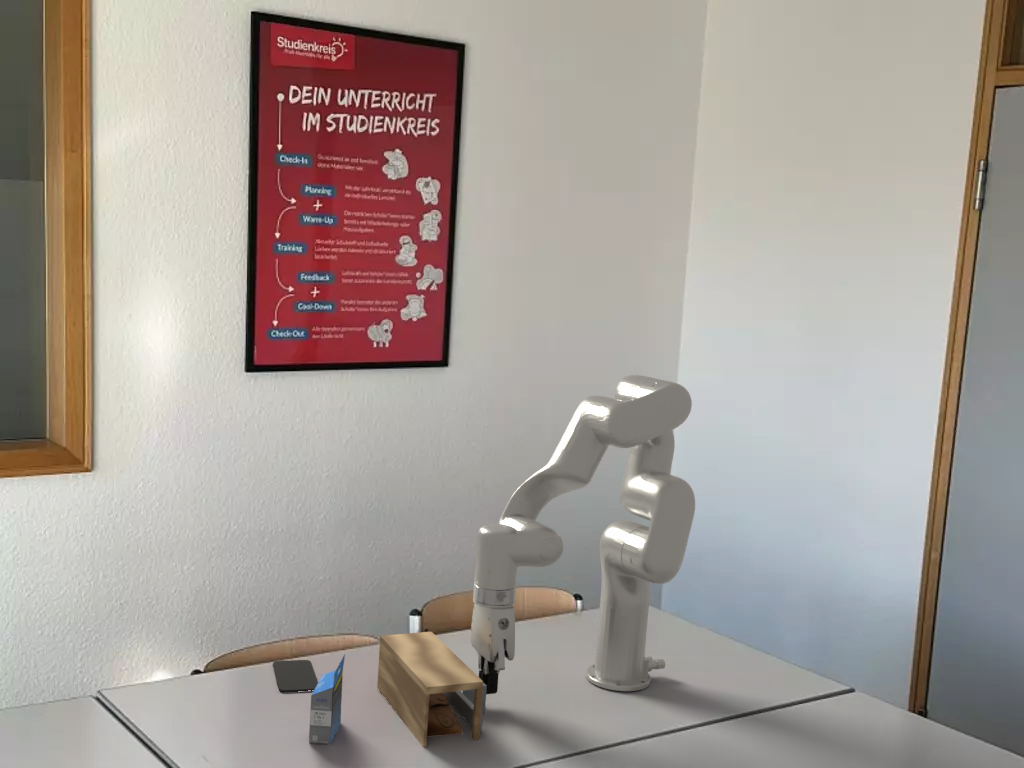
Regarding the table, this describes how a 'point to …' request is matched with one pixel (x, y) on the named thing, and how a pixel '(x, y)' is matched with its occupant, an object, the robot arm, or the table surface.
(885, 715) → the table surface
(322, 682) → the blue cardboard box
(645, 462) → the robot arm
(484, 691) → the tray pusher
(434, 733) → the sunglasses case
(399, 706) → the oak counter
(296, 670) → the phone
